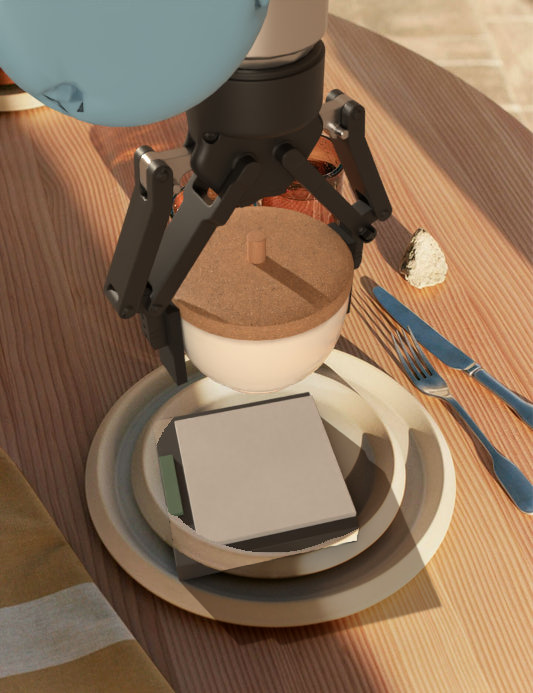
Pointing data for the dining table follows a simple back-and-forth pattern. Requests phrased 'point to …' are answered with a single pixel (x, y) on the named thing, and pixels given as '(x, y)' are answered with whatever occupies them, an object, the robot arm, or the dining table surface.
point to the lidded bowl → (265, 299)
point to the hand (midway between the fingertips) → (258, 336)
